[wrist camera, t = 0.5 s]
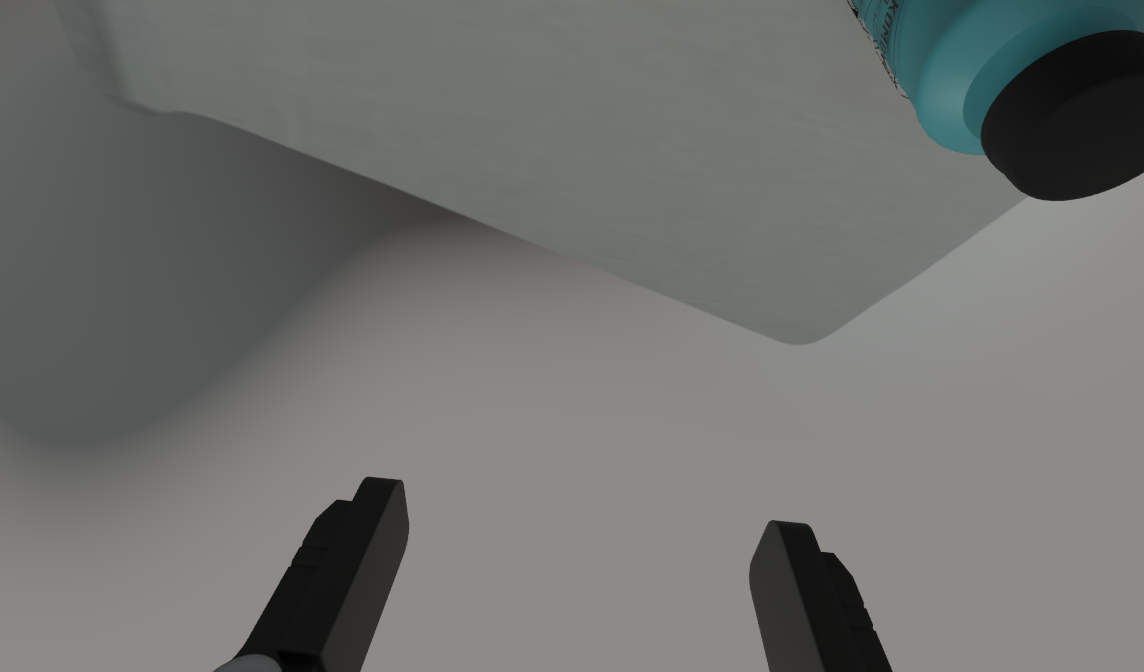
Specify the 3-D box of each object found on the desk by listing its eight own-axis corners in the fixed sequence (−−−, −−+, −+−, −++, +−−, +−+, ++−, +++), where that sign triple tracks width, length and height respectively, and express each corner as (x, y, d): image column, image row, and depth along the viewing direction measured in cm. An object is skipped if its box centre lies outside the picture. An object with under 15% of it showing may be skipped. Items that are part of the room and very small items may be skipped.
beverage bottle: (953, -209, 23) (1306, -77, 10) (992, -66, 26) (1291, 164, 14) (803, -84, 26) (924, 124, 14) (855, 26, 30) (989, 272, 17)
